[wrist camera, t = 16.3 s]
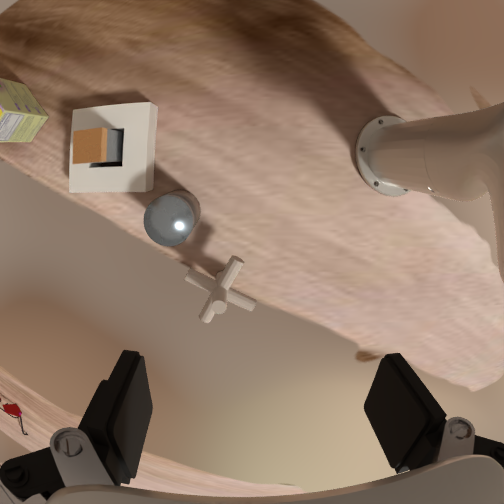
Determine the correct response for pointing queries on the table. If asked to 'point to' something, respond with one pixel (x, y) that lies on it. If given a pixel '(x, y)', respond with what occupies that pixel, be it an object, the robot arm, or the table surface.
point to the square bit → (97, 146)
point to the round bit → (172, 217)
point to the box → (19, 113)
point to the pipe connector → (220, 290)
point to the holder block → (134, 149)
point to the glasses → (13, 411)
